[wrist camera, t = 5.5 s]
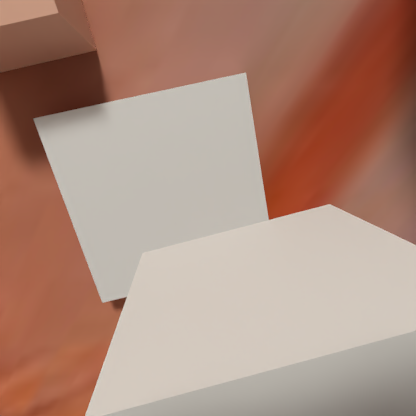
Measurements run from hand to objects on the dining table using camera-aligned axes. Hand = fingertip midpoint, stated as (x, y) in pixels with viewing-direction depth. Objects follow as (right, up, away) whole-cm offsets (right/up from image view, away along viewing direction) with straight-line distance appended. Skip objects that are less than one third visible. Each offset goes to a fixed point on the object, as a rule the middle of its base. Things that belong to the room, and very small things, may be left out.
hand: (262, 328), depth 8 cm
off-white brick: (0, 0, +1) cm, 1 cm away
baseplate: (-4, +5, +10) cm, 12 cm away
